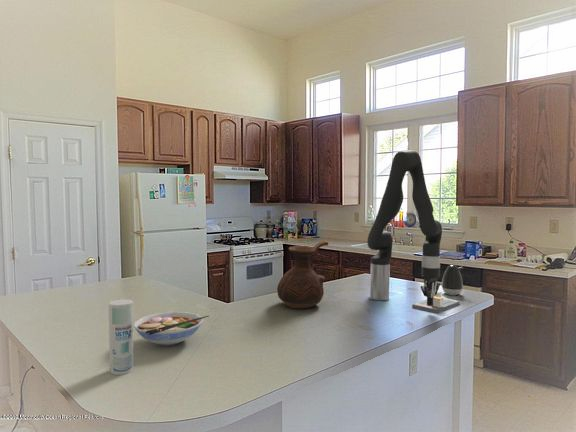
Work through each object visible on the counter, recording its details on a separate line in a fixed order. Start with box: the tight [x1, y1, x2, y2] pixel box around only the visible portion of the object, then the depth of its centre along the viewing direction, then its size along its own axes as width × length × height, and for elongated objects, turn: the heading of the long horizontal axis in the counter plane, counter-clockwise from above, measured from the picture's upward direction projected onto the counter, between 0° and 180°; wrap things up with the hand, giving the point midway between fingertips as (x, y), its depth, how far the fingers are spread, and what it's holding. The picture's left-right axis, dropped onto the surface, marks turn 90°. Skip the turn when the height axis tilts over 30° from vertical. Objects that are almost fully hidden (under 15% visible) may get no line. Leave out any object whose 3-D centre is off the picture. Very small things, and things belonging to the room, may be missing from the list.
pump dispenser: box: [441, 264, 464, 296], centre depth 218 cm, size 10×10×15 cm
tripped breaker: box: [433, 296, 444, 308], centre depth 189 cm, size 3×4×4 cm
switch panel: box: [411, 296, 461, 314], centre depth 196 cm, size 22×12×2 cm, turn 133°
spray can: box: [108, 299, 134, 376], centre depth 122 cm, size 6×6×20 cm
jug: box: [276, 239, 329, 310], centre depth 194 cm, size 22×22×30 cm
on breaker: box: [435, 290, 442, 297], centre depth 202 cm, size 3×4×4 cm
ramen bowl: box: [133, 311, 210, 347], centre depth 146 cm, size 25×23×8 cm
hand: (430, 305), depth 184 cm, fingers closed
